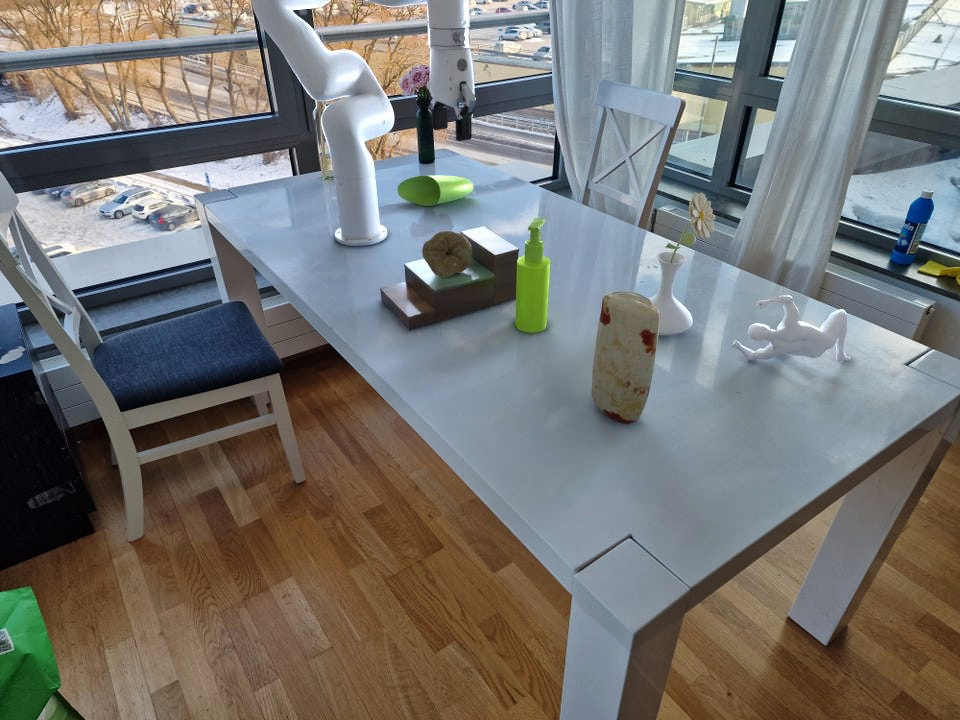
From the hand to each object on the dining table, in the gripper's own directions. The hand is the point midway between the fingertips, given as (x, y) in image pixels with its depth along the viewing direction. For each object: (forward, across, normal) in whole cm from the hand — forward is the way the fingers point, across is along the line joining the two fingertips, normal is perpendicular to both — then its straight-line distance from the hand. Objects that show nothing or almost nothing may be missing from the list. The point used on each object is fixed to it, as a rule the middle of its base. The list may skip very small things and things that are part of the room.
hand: (451, 134), depth 125 cm
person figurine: (+28, -63, -31) cm, 76 cm away
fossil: (+22, -14, +9) cm, 27 cm away
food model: (+28, -59, +4) cm, 66 cm away
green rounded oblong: (+28, +38, -16) cm, 50 cm away
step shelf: (+28, -14, +9) cm, 33 cm away
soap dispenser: (+28, -30, 0) cm, 41 cm away
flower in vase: (+28, -43, -21) cm, 56 cm away
